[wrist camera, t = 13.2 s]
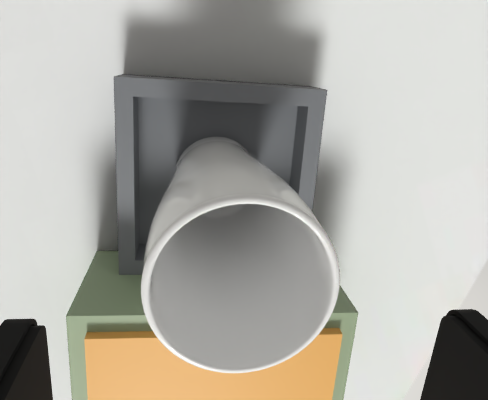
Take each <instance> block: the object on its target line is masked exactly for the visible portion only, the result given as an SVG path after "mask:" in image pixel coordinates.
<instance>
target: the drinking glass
mask: <svg viewBox="0 0 488 400" xmlns="http://www.w3.org/2000/svg"><path fill="white" fill-rule="evenodd" d="M339 287H340V269H339V262H338V258H337V254H336V251H335V249H334V246H333V244H332V242H331V240H330V238H329V236H328V235H327V233H326V232H325V230H324V229H323V227H322V226H321V224H320V223H319V221H318V220H317V218H316V217H315V215H314V214H313V212H312V211H311V209H310V208H309V207H308V205H307V204H306V203H305V202H304V201H303V199H302V198H301V197H300V196H299V195H298V193H297V192H296V191H295V190H294V189H293V188H292V187H291V186H290V185H289V184H288V183H287V182H286V181H284V180H283V179H282V178H281V177H280V176H278V175H277V174H276V173H275V172H273V171H272V170H271V169H269V168H268V167H267V166H265V165H264V164H262V163H261V162H260V161H258V160H257V159H256V158H254V157H253V156H252V155H251V154H250V153H249V152H248V150H247V149H246V148H245V147H244V146H242V145H241V144H240V143H238V142H236V141H234V140H232V139H229V138H226V137H218V136H215V137H207V138H203V139H200V140H198V141H196V142H194V143H193V144H191V145H190V146H189V147H188V148H186V150H185V151H184V152H183V153H182V154H181V156H180V158H179V159H178V162H177V164H176V167H175V172H174V175H173V177H172V179H171V181H170V183H169V185H168V187H167V189H166V191H165V193H164V194H163V196H162V199H161V201H160V203H159V205H158V207H157V209H156V212H155V214H154V217H153V220H152V223H151V226H150V230H149V234H148V238H147V242H146V247H145V254H144V262H143V270H142V279H141V300H142V305H143V310H144V313H145V316H146V319H147V321H148V323H149V325H150V327H151V329H152V331H153V332H154V334H155V335H156V337H157V338H158V339H159V341H160V342H161V343H162V344H163V345H164V346H165V347H166V348H167V349H168V350H169V351H171V352H172V353H173V354H174V355H176V356H177V357H179V358H180V359H182V360H184V361H186V362H187V363H189V364H192V365H194V366H196V367H199V368H202V369H205V370H210V371H214V372H221V373H247V372H253V371H259V370H262V369H266V368H269V367H272V366H275V365H277V364H280V363H282V362H284V361H286V360H288V359H290V358H291V357H293V356H294V355H296V354H298V353H299V352H300V351H302V350H303V349H304V348H306V347H307V346H308V345H309V344H310V343H311V342H312V341H313V340H314V339H315V338H316V337H317V336H318V335H319V333H320V332H321V331H322V329H323V328H324V327H325V325H326V323H327V322H328V320H329V318H330V316H331V314H332V312H333V310H334V307H335V305H336V301H337V298H338V293H339Z"/></svg>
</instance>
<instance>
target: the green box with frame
mask: <svg viewBox="0 0 488 400" xmlns="http://www.w3.org/2000/svg"><path fill="white" fill-rule="evenodd" d="M326 96H327V90H325V89H320V88H316V87H311V86H297V85H281V84H266V83H250V82H235V81H219V80H204V79H189V78H173V77H158V76H142V75H127V74H122V75H118V76H114V104H115V143H116V182H117V220H118V251H97V252H96V254H95V256H94V259H93V261H92V263H91V265H90V267H89V269H88V271H87V273H86V275H85V277H84V280H83V282H82V284H81V286H80V288H79V290H78V292H77V294H76V296H75V298H74V301H73V303H72V305H71V307H70V309H69V311H68V313H67V315H66V322H67V336H68V350H69V365H70V379H71V393H72V400H343V398H344V392H345V386H346V381H347V375H348V369H349V363H350V357H351V352H352V346H353V340H354V334H355V329H356V323H357V317H358V312H357V310H356V309H355V307H354V306H353V304H352V303H351V301H350V300H349V298H348V297H347V295H346V294H345V292H344V291H343V289H342V288H341V286H340V287H339V293H338V298H337V301H336V305H335V307H334V310H333V312H332V314H331V316H330V318H329V320H328V322H327V323H326V325H325V327H324V328H323V329H322V331H321V332H320V333H319V335H318V336H317V337H316V338H315V339H314V340H313V341H312V342H311V343H310V344H309V345H308V346H307V347H306V348H304V349H303V350H302V351H300V352H299V353H298V354H296V355H294V356H293V357H291V358H290V359H288V360H286V361H284V362H282V363H280V364H277V365H275V366H272V367H269V368H266V369H262V370H259V371H253V372H247V373H221V372H214V371H210V370H205V369H202V368H199V367H196V366H194V365H192V364H189V363H187V362H186V361H184V360H182V359H180V358H179V357H177V356H176V355H174V354H173V353H172V352H171V351H169V350H168V349H167V348H166V347H165V346H164V345H163V344H162V343H161V342H160V341H159V339H158V338H157V337H156V335H155V334H154V332H153V331H152V329H151V327H150V325H149V323H148V321H147V319H146V316H145V313H144V310H143V305H142V300H141V279H142V270H143V262H144V254H145V247H146V242H147V238H148V234H149V230H150V226H151V223H152V220H153V217H154V214H155V212H156V209H157V207H158V205H159V203H160V201H161V199H162V196H163V194H164V193H165V191H166V189H167V187H168V185H169V183H170V181H171V179H172V177H173V175H174V172H175V167H176V164H177V162H178V159H179V158H180V156H181V154H182V153H183V152H184V151H185V150H186V148H188V147H189V146H190V145H191V144H193V143H194V142H196V141H198V140H200V139H203V138H207V137H215V136H218V137H226V138H229V139H232V140H234V141H236V142H238V143H240V144H241V145H242V146H244V147H245V148H246V149H247V150H248V152H249V153H250V154H251V155H252V156H253V157H254V158H256V159H257V160H258V161H260V162H261V163H262V164H264V165H265V166H267V167H268V168H269V169H271V170H272V171H273V172H275V173H276V174H277V175H278V176H280V177H281V178H282V179H283V180H284V181H286V182H287V183H288V184H289V185H290V186H291V187H292V188H293V189H294V190H295V191H296V192H297V193H298V195H299V196H300V197H301V198H302V199H303V201H304V202H305V203H306V204H307V205H308V207H309V208H310V209H311V211H312V209H313V201H314V192H315V184H316V176H317V168H318V160H319V152H320V144H321V136H322V128H323V120H324V112H325V104H326Z"/></svg>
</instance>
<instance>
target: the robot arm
mask: <svg viewBox="0 0 488 400" xmlns="http://www.w3.org/2000/svg"><path fill="white" fill-rule="evenodd" d="M0 400H53V397H52V386H51V376H50V366H49V356H48V346H47V335H46V328H45V326H37V322H36V320H35V319H7V320H4V322H3V323H2V324H1V326H0ZM420 400H488V320H487V319H486V318H485V317H484V316H483V315H481V314H480V313H479V312H478V311H476V310H472V309H468V310H451V311H449V312H448V313H447V315H446V316H444V317H443V318H442V320H441V322H440V326H439V330H438V334H437V338H436V342H435V345H434V349H433V353H432V357H431V361H430V365H429V368H428V372H427V376H426V380H425V384H424V388H423V391H422V396H421V399H420Z"/></svg>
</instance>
